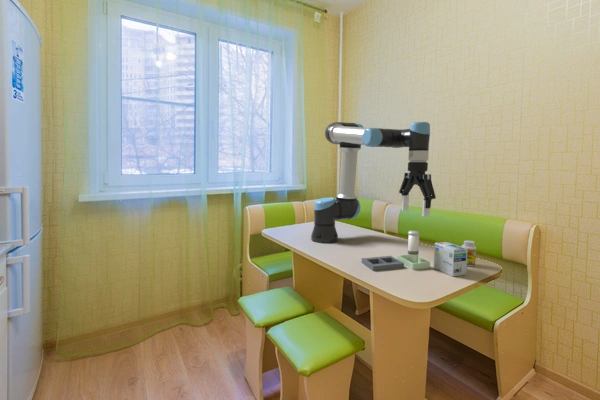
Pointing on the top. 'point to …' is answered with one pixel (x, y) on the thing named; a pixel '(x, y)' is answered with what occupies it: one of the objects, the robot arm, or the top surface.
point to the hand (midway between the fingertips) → (414, 213)
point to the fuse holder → (382, 263)
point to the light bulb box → (450, 258)
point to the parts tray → (420, 265)
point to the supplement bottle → (470, 252)
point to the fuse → (413, 246)
